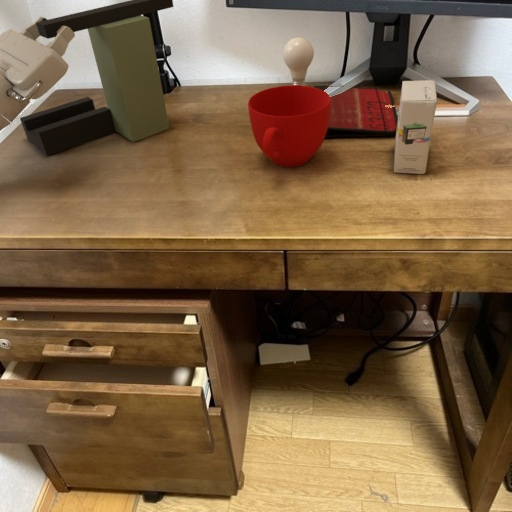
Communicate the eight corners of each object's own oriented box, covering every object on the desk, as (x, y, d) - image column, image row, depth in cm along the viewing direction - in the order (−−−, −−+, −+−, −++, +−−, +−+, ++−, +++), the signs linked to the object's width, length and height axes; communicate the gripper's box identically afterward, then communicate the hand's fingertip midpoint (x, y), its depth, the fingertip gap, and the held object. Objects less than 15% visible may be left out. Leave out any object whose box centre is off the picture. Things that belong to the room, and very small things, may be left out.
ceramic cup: (230, 183, 78) (224, 123, 72) (268, 137, 90) (265, 82, 84) (309, 194, 74) (309, 132, 68) (337, 144, 86) (339, 88, 80)
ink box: (393, 148, 84) (402, 78, 76) (424, 149, 83) (435, 79, 75) (392, 173, 77) (401, 99, 70) (425, 175, 76) (438, 100, 69)
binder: (309, 126, 87) (312, 84, 103) (309, 138, 88) (311, 95, 105) (402, 128, 85) (390, 85, 102) (400, 141, 87) (389, 96, 103)
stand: (113, 130, 97) (85, 20, 85) (148, 117, 101) (126, 11, 89) (133, 142, 92) (106, 28, 80) (169, 128, 96) (149, 17, 84)
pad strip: (39, 35, 79) (35, 22, 77) (164, 4, 91) (162, -8, 89) (47, 38, 77) (43, 25, 76) (173, 6, 89) (171, -6, 88)
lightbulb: (318, 88, 108) (319, 34, 101) (304, 98, 104) (304, 43, 97) (293, 84, 110) (292, 32, 104) (278, 94, 106) (276, 40, 100)
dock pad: (27, 139, 96) (19, 117, 93) (93, 117, 103) (87, 96, 100) (47, 156, 90) (38, 133, 87) (116, 131, 97) (110, 109, 94)
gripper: (3, 89, 68) (70, 17, 70) (-37, 60, 81) (20, 0, 82) (39, 120, 73) (100, 52, 75) (-4, 88, 86) (49, 30, 87)
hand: (58, 24), depth 79 cm, fingers open, 8 cm apart
